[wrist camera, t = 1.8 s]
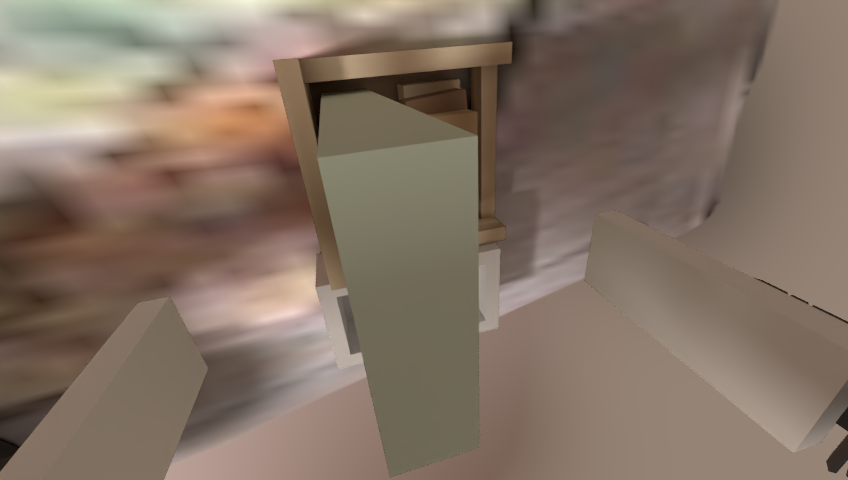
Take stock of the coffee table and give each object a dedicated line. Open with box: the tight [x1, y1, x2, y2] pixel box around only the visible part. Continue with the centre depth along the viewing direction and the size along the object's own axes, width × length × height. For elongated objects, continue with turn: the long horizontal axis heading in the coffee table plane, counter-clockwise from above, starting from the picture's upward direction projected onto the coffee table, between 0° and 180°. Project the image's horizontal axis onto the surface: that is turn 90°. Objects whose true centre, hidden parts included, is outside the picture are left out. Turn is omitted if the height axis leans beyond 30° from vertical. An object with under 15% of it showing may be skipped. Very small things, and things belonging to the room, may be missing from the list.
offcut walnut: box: [399, 88, 468, 114], centre depth 24 cm, size 4×9×2 cm, turn 9°
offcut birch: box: [397, 79, 460, 103], centre depth 26 cm, size 4×10×2 cm, turn 5°
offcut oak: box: [427, 110, 477, 135], centre depth 23 cm, size 4×6×2 cm, turn 3°
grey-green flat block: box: [317, 89, 480, 477], centre depth 17 cm, size 3×10×20 cm, turn 4°
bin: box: [316, 242, 501, 369], centre depth 29 cm, size 14×8×5 cm, turn 94°
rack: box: [273, 42, 512, 291], centre depth 24 cm, size 14×14×6 cm
